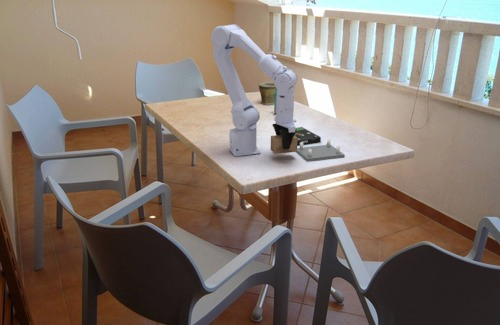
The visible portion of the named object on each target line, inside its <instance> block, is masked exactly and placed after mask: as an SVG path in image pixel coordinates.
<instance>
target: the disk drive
mask: <svg viewBox="0 0 500 325" xmlns="http://www.w3.org/2000/svg"><path fill="white" fill-rule="evenodd" d="M295 129H296V130H297V132H296V134H295V136H296V137H297V138H298V139H297V147H300V142H303V146H307V145H314V144H320V143H321V142H322V141H321V140H322V139H321V138H322V137H321V136H320V135H317V134H316V133H314V132H312V131H310V130H308V129H306V128H304V127H302V126H298V127H295Z"/></svg>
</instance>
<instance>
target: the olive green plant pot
mask: <svg viewBox="0 0 500 325" xmlns="http://www.w3.org/2000/svg"><path fill="white" fill-rule="evenodd" d="M258 89H259V94H260V99H261V104H262V105H264V106H274V103H275V92H276V89H277V88H276V87H275V85H274V82H262V83H259V84H258Z"/></svg>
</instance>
